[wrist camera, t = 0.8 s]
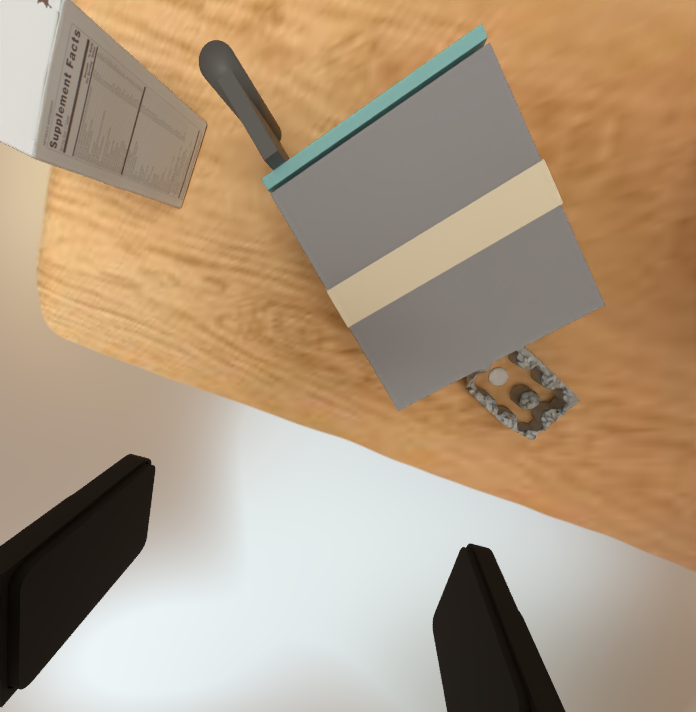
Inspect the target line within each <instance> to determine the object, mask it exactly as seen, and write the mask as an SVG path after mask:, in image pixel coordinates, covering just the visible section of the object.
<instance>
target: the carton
mask: <svg viewBox="0 0 696 712" xmlns="http://www.w3.org/2000/svg"><path fill="white" fill-rule="evenodd" d="M270 195H271V196H272V198H273V200H274V201H275V203H276V205H277V206H278V208H279V210H280V211H281V213H282V215H283V217H284V218H285V220H286V222H287V223H288V225H289V227H290V228H291V230H292V232H293V234H294V235H295V237H296V239H297V240H298V242H299V244H300V245H301V247H302V249H303V250H304V252H305V254H306V256H307V257H308V259H309V261H310V262H311V264H312V266H313V267H314V269H315V271H316V273H317V274H318V276H319V278H320V279H321V281H322V283H323V284H324V286H325V288H326V289H327V291H326V292H327V293H328V295H329V297H330V298H331V300H332V302H333V303H334V305H335V307H336V309H337V310H338V312H339V314H340V315H341V317H342V319H343V320H344V322H345V324H346V325H347V327H349V329H350V330H351V332H352V334H353V335H354V337H355V339H356V340H357V342H358V344H359V345H360V347H361V349H362V351H363V352H364V354H365V356H366V357H367V359H368V361H369V362H370V364H371V366H372V368H373V369H374V371H375V373H376V374H377V376H378V378H379V379H380V381H381V383H382V384H383V386H384V388H385V390H386V391H387V393H388V395H389V396H390V398H391V400H392V401H393V403H394V405H395V407H396V408H397V410H398V411H399V410H401V409H403V408H405V407H407V406H409V405H411V404H413V403H415V402H417V401H419V400H421V399H423V398H425V397H427V396H429V395H431V394H432V393H434V392H436V391H438V390H440V389H442V388H444V387H446V386H448V385H450V384H452V383H454V382H456V381H458V380H460V379H462V378H464V377H466V376H468V375H470V374H472V373H473V372H475V371H477V370H479V369H481V368H483V367H485V366H487V365H489V364H491V363H493V362H495V361H497V360H499V359H501V358H503V357H505V356H507V355H509V354H511V353H513V352H514V351H516V350H518V349H520V348H522V347H524V346H526V345H528V344H530V343H532V342H534V341H536V340H538V339H540V338H542V337H544V336H546V335H548V334H550V333H552V332H554V331H556V330H557V329H559V328H561V327H563V326H565V325H567V324H569V323H571V322H573V321H575V320H577V319H579V318H581V317H583V316H585V315H587V314H589V313H591V312H593V311H595V310H597V309H598V308H600V307H602V306H604V305H605V303H604V301H603V299H602V297H601V294H600V292H599V290H598V288H597V285H596V283H595V281H594V278H593V276H592V274H591V272H590V269H589V267H588V265H587V262H586V260H585V258H584V256H583V253H582V251H581V249H580V247H579V244H578V242H577V240H576V237H575V235H574V233H573V231H572V228H571V226H570V224H569V222H568V219H567V217H566V215H565V212H564V210H563V208H562V206H561V204H563V201H562V199H561V197H560V194H559V192H558V190H557V187H556V185H555V183H554V181H553V178H552V176H551V174H550V171H549V169H548V167H547V165H546V162H545V160H544V159H543V160H541V158H540V155H539V153H538V151H537V149H536V146H535V144H534V142H533V140H532V137H531V135H530V133H529V130H528V128H527V126H526V124H525V121H524V119H523V117H522V115H521V112H520V110H519V108H518V105H517V103H516V101H515V99H514V96H513V94H512V92H511V89H510V87H509V85H508V83H507V80H506V78H505V76H504V74H503V71H502V69H501V67H500V64H499V62H498V60H497V58H496V55H495V53H494V51H493V48H492V46H491V44H490V42H489V43H488V44H486V45H485V46H484V47H482V48H481V49H479V50H478V51H476V52H475V53H473V54H472V55H471V56H469V57H468V58H466V59H465V60H463V61H462V62H460V63H459V64H458V65H456V66H455V67H453V68H452V69H450V70H449V71H447V72H446V73H445V74H443V75H442V76H440V77H439V78H437V79H436V80H434V81H433V82H432V83H430V84H429V85H427V86H426V87H424V88H423V89H421V90H420V91H419V92H417V93H416V94H414V95H413V96H411V97H410V98H408V99H407V100H406V101H404V102H403V103H401V104H400V105H398V106H397V107H395V108H394V109H393V110H391V111H390V112H388V113H387V114H385V115H384V116H382V117H381V118H379V119H378V120H377V121H375V122H374V123H372V124H371V125H369V126H368V127H366V128H365V129H364V130H362V131H361V132H359V133H358V134H356V135H355V136H353V137H352V138H351V139H349V140H348V141H346V142H345V143H343V144H342V145H340V146H339V147H338V148H336V149H335V150H333V151H332V152H330V153H329V154H327V155H326V156H325V157H323V158H322V159H320V160H319V161H317V162H316V163H314V164H313V165H312V166H310V167H309V168H307V169H306V170H304V171H303V172H301V173H300V174H299V175H297V176H296V177H294V178H293V179H291V180H290V181H288V182H287V183H286V184H284V185H283V186H281V187H280V188H278V189H277V190H275V191H274V192H272V193H271V194H270Z"/></svg>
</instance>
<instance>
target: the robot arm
mask: <svg viewBox="0 0 696 712" xmlns="http://www.w3.org/2000/svg"><path fill="white" fill-rule="evenodd" d="M154 475H155V466H154V465H151V460H150V459H148V458H145V457H141V456H137V455H133V454H129V455H127V456H125V457H124V458H122V459H121V460H120V461H118V462H117V463H116V464H114V465H113V466H112V467H110V468H109V469H107V470H106V471H105V472H103V473H102V474H100V475H99V476H98V477H96V478H95V479H94V480H92V481H91V482H89V483H88V484H87V485H85V486H84V487H83V488H81V489H80V490H78V491H77V492H76V493H74V494H73V495H71V496H69V497H68V498H66V499H65V500H64V501H62V502H61V503H59V504H58V505H57V506H55V507H54V508H52V509H51V510H50V511H48V512H47V513H45V514H44V515H43V516H41V517H40V518H39V519H37V520H36V521H34V522H33V523H32V524H30V525H29V526H28V527H26V528H25V529H23V530H22V531H21V532H19V533H18V534H16V535H15V536H14V537H12V538H11V539H10V540H8V541H7V542H5V543H4V544H3V545H1V546H0V707H2V706H3V705H4V704H5V703H6V702H7V701H8V699H9V698H10V697H11V696H12V695H13V694H14V692H15V691H16V690H17V689H24V688H25V687H27V686H28V685H29V684H30V683H31V682H32V681H33V680H34V679H35V677H36V676H37V675H38V674H39V673H40V671H41V670H42V669H43V668H44V667H45V665H46V664H47V663H48V662H49V661H50V660H51V658H52V657H53V656H54V655H55V654H56V652H57V651H58V650H59V649H60V648H61V646H62V645H63V644H64V643H65V642H66V640H67V639H68V638H69V637H70V636H71V634H72V633H73V632H74V631H75V630H76V628H77V627H78V626H79V625H80V624H81V623H82V621H83V620H84V619H85V618H86V617H87V615H88V614H89V613H90V612H91V610H92V609H93V608H94V607H95V606H96V605H97V603H98V602H99V601H100V600H101V599H102V597H103V596H104V595H105V594H106V593H107V592H108V590H109V589H110V588H111V587H112V585H113V584H114V583H115V582H116V581H117V580H118V578H119V577H120V576H121V575H122V574H123V572H124V571H125V570H126V569H127V567H128V566H129V565H130V564H131V563H132V562H133V561H134V559H135V558H136V557H137V556H138V554H139V553H140V552H141V550H142V549H143V547H144V545H145V542H146V539H147V532H148V524H149V516H150V508H151V500H152V492H153V484H154ZM433 634H434V639H435V645H436V651H437V656H438V661H439V667H440V673H441V679H442V684H443V689H444V696H445V701H446V707H447V712H565V710H564V708H563V705H562V703H561V701H560V699H559V696H558V694H557V692H556V690H555V688H554V685H553V683H552V681H551V679H550V676H549V674H548V672H547V670H546V668H545V665H544V663H543V661H542V659H541V657H540V654H539V652H538V650H537V648H536V645H535V643H534V641H533V639H532V636H531V634H530V632H529V630H528V628H527V625H526V623H525V621H524V619H523V617H522V615H521V613H520V612H519V611H518V609H517V606H516V604H515V602H514V600H513V597H512V595H511V593H510V591H509V588H508V586H507V584H506V582H505V579H504V577H503V575H502V573H501V571H500V568H499V566H498V564H497V562H496V559H495V557H494V555H493V553H492V551H491V550H490V549H489V548H486V547H482V546H478V545H474V544H468V545H467V547H466V548H465V547H462V548H461V550H460V552H459V554H458V557H457V559H456V562H455V564H454V567H453V569H452V572H451V574H450V577H449V579H448V582H447V584H446V586H445V589H444V591H443V594H442V597H441V599H440V601H439V604H438V606H437V609H436V611H435V614H434V617H433Z"/></svg>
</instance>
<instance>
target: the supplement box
mask: <svg viewBox="0 0 696 712" xmlns="http://www.w3.org/2000/svg"><path fill="white" fill-rule="evenodd" d="M206 126H207V123H206V122H205V121H204V120H203V119H202V118H201V117H200V116H198V115H197V114H196V113H195V112H194V111H193V110H192V109H191V108H190V107H188V106H187V105H186V104H185V103H184V102H183V101H182V100H181V99H179V98H178V97H177V96H176V95H175V94H174V93H173V92H172V91H171V90H170V89H168V88H167V87H166V86H165V85H164V84H163V83H162V82H161V81H160V80H159V79H157V78H156V77H155V76H154V75H153V74H152V73H151V72H149V71H148V70H147V69H146V68H145V67H144V66H143V65H142V64H141V63H140V62H139V61H137V60H136V59H135V58H134V57H133V56H132V55H131V54H130V53H129V52H127V51H126V50H125V49H124V48H123V47H122V46H121V45H119V44H118V43H117V42H116V41H115V40H114V39H113V38H112V37H111V36H110V35H108V34H107V33H106V32H105V31H104V30H103V29H102V28H101V27H100V26H98V25H97V24H96V23H95V22H94V21H93V20H92V19H91V18H90V17H88V16H87V15H86V14H85V13H84V12H83V11H82V10H81V9H80V8H79V7H78V6H76V5H75V4H74V3H73V2H72V1H71V0H0V142H2V143H4V144H6V145H8V146H10V147H12V148H14V149H16V150H18V151H20V152H22V153H24V154H26V155H28V156H30V157H32V158H34V159H36V160H39V161H42V162H45V163H48V164H50V165H53V166H56V167H59V168H62V169H65V170H68V171H71V172H74V173H77V174H80V175H83V176H86V177H89V178H92V179H95V180H97V181H100V182H103V183H105V184H108V185H111V186H114V187H116V188H119V189H122V190H127V191H130V192H133V193H136V194H138V195H141V196H144V197H147V198H150V199H153V200H156V201H159V202H162V203H164V204H167V205H170V206H173V207H176V208H181V207H182V204H183V200H184V197H185V194H186V191H187V187H188V184H189V181H190V178H191V175H192V171H193V168H194V165H195V162H196V159H197V155H198V152H199V149H200V146H201V142H202V139H203V136H204V133H205V130H206Z"/></svg>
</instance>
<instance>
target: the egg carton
mask: <svg viewBox="0 0 696 712" xmlns="http://www.w3.org/2000/svg"><path fill="white" fill-rule="evenodd" d="M509 359H510V360H511V362H513V363H514V364H516V365H518V366H519V367H521V368H523V369H525V370H531V369H532V370H531V376H532V378H533V379H534V380H535V381H537V382H538V383H540V384H541V385H543V386H544V387H545V388H547V389H551V390H553V395H554V396H555V398H554V399H553V400H552V401H551V402H550V403H546V402H539V401H540V397H539V395H538V394H537V393H536V392H535V391H533V390H532V389H530V388H529V387H527V386H525V385H517V386H515V387H513V389H512V390H511V392H510V397H511V399H512V400H513V401H514V402H515V403H516V404H517V405H518V406H519V407H521V408H522V409H524V410H528V409H532V411H531V413H532V416H533V417H534V419H533V420H532V421H531V422H530V423H529V424H527V423H523V422H520V423H518V421H517V418H516V415H514V414H513V413H512V412H511V411H510V410H509V409H508V408H506V407H504V406H497V405H496V401H495V399H493V398H492V396H490V395H489V394H488V393H487V392H486V391H484V390H482V389H477V387H476V386H475V383H474V382H475V379H476V378H477V373H484V372H487V371H488V370H490V369H491V366H492V363H491V364H489V365H487V366H485V367H483V368H481V369H479V370H477V371H475V372H473V373H472V374H470V375H468V376H466V379H467V383H466V385H465V386H466V389H467V390H468V392H470V394H472V395H473V396H474V397H475V398H476V399H477V400H478V401H479V402H480V403H481V404H482V405H484V407H485V408H486V409H487V410H488V411H489V412H491V413H492V414H493V415H494V416H495V417H496V418H497V419H498V420H499V421H500V422H501V423H503V424H504V425H505V426H507V427H509V428H510V429H512V430H514V431H516V432H518V433H520V434H522V435H523V436H525V437H526V438H528V439H530V440H534V439H535V438H536V435H537V434H538V433H539V432H540V431H542V430H544V431H545V430H547V428H548V426H549V425H550V424H552V423H554V422H556V420H557V419H558V418H560V417H561V416H563V415H565V412H566V410H567V409H569V408H571V407H573V406H574V405H575V404H577V403H578V402H579V401H580V400H579V398H578V397H577V396H576V395H575V394H574V393H573V392H572V391H571V390H570V389H569V388H568V387H567V386H566V385H565V384H564V383H563V382H561V380H560V379H558V378H557V377H556V376H555V374H554V373H553V372H552V371H550V370H549V369H548V368H547V367H546V366H545V365H544V364H543V363H542V362H540V361H539V360H538V359H537V358H536V357H535V356H534V355H533V354H532V353H531V352H530V351H529V350H527V349H526V348H524V347H522V348H520V349H518V350H516V351H514V352H513V353H511V354H509ZM488 379H489V382H490V383H491V384H493V385H495V386H501V385H503V384H505V383H506V382H507V380H508V373H507V371H506V370H505V369H504V368H501V367H498V368H494V369H492V370H491V371H490V373H489V376H488Z"/></svg>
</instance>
